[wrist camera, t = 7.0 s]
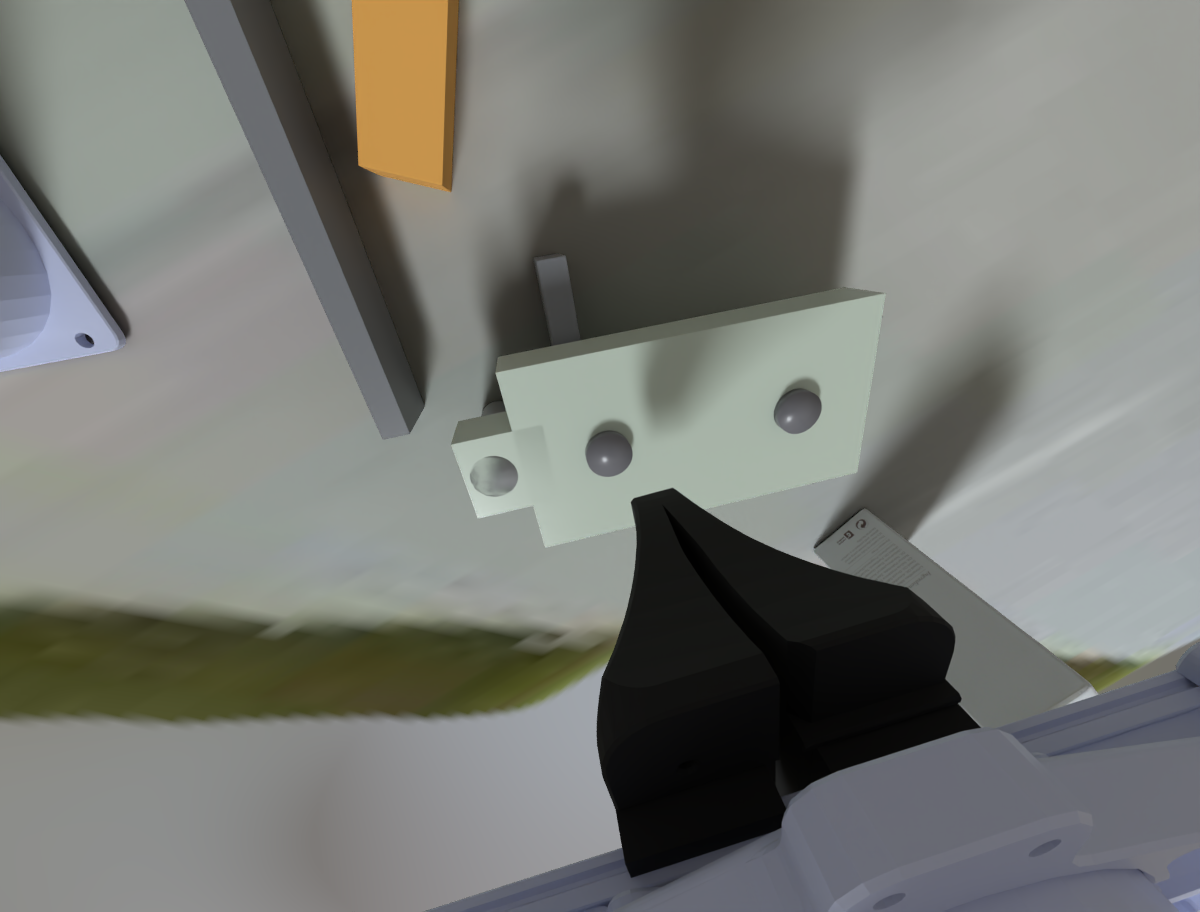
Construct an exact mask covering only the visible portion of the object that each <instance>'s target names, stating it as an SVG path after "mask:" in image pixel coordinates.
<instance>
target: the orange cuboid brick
mask: <svg viewBox="0 0 1200 912" xmlns="http://www.w3.org/2000/svg"><path fill="white" fill-rule="evenodd" d="M458 9H459V0H352V16H353V41H354V66H355V91H356V116H357V140H358V165H359V166H361V167H363V168H365V169H367V170H369V171H371V172H373V173H375V174H378V175H380V176H385V177H389V178H393V179H397V180H402V181H406V182H410V183H414V184H419V185H423V186H427V187H431V188H436V189H440V190H444V191H448V192H451V187H452V161H453V136H454V111H455V85H456V60H457V35H458Z"/></svg>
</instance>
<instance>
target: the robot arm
mask: <svg viewBox="0 0 1200 912" xmlns="http://www.w3.org/2000/svg"><path fill="white" fill-rule="evenodd" d="M85 334H87V335H89V336H90V337H91V338H92V339H93V341H94V345H93V344H91V343H90V342H88V341H87V340H86V337H85ZM125 344H126V338H125V336H124V334H123V332H122V331H121V329H120V328H119V326H118V325H117V323H116V322H115V321H114V319H113V318H112V316H111V315H110V313H109V312H108V310H107V309H106V307H105V306H104V305H103V303H102V302H101V300H100V299H99V297H98V296H97V294H96V293H95V292H94V290H93V289H92V287H91V286H90V284H89V283H88V281H87V280H86V278H85V277H84V276H83V274H82V273H81V271H80V270H79V268H78V267H77V265H76V264H75V263H74V261H73V260H72V258H71V257H70V255H69V254H68V252H67V251H66V249H65V248H64V247H63V245H62V244H61V242H60V241H59V239H58V238H57V236H56V235H55V234H54V232H53V231H52V229H51V228H50V226H49V225H48V223H47V222H46V220H45V219H44V218H43V216H42V215H41V213H40V212H39V210H38V209H37V207H36V206H35V205H34V203H33V202H32V200H31V199H30V197H29V196H28V194H27V193H26V191H25V190H24V189H23V187H22V186H21V184H20V183H19V181H18V180H17V178H16V177H15V175H14V174H13V173H12V171H11V170H10V168H9V167H8V165H7V164H6V162H5V161H4V160H3V158H2V157H1V155H0V372H3V371H8V370H14V369H19V368H24V367H30V366H35V365H40V364H46V363H51V362H57V361H62V360H67V359H73V358H78V357H84V356H89V355H94V354H100V353H105V352H111V351H114V350H118V349H120V348H123V347H124V345H125ZM631 506H632V511H633V516H634V521H635V526H636V531H637V548H636V562H635V571H634V578H633V584H632V589H631V594H630V598H629V603H628V607H627V611H626V615H625V618H624V621H623V624H622V627H621V630H620V634H619V637H618V640H617V643H616V645H615V648H614V651H613V653H612V655H611V658H610V660H609V662H608V665H607V667H606V669H605V672H604V674H603V676H602V681H601V688H600V695H599V704H598V714H597V747H598V753H599V759H600V764H601V769H602V775H603V779H604V781H605V784H606V786H607V789H608V791H609V794H610V796H611V799H612V801H613V804H614V806H615V809H616V814H617V820H618V826H619V832H620V837H621V843H622V848H620V849H617V850H614V851H611V852H608V853H605V854H602V855H599V856H595V857H592V858H589V859H586V860H583V861H579V862H577V863H573V864H570V865H567V866H564V867H561V868H558V869H555V870H551V871H548V872H545V873H542V874H539V875H536V876H533V877H530V878H527V879H524V880H521V881H517V882H514V883H511V884H508V885H505V886H502V887H499V888H496V889H493V890H489V891H486V892H483V893H480V894H477V895H474V896H471V897H467V898H464V899H461V900H458V901H455V902H452V903H449V904H446V905H443V906H439V907H436V908H433V909H430V910H427V911H424V912H1200V642H1198V643H1196V644H1195V645H1193V646H1192V647H1190V648H1189V649H1188V650H1187V651H1186V652H1185V653H1184V654H1183V655H1182V657H1181V658H1180V659H1179V661H1178V663H1177V665H1176V670H1174V671H1171V672H1168V673H1165V674H1161V675H1158V676H1155V677H1152V678H1149V679H1146V680H1143V681H1140V682H1137V683H1134V684H1130V685H1128V686H1124V687H1121V688H1118V689H1115V690H1112V691H1109V692H1105V693H1102V694H1100V695H1096V696H1093V697H1090V698H1087V699H1084V700H1081V701H1077V702H1074V703H1071V704H1068V705H1065V706H1062V707H1059V708H1056V709H1053V710H1049V711H1046V712H1043V713H1040V714H1037V715H1034V716H1031V717H1028V718H1025V719H1021V720H1018V721H1015V722H1012V723H1009V724H1006V725H1003V726H1000V727H997V728H990V727H983V728H981V727H980V726H979V725H978V724H977V723H976V722H975V721H974V720H973V719H972V718H971V717H970V715H969V714H968V713H967V712H966V711H965V710H964V709H963V708H962V707H961V706H960V705H959V704H958V703H960V702H961V700H962V698H961V696H960V693H959V692H958V691H957V690H956V689H955V688H954V687H953V686H952V685H951V684H950V683H949V682H948V681H947V680H946V679H945V678H946V675H947V672H948V668H949V665H950V662H951V659H952V656H953V653H954V647H955V637H956V636H955V633H954V630H953V627H952V626H951V625H950V624H949V623H948V622H947V621H946V620H945V619H943V618H942V617H941V616H940V615H939V614H938V613H937V612H936V611H935V610H934V609H933V608H932V607H931V606H929V605H928V604H927V603H926V602H925V601H924V600H923V599H921V598H920V597H919V596H918V595H916V594H915V593H914V592H912V591H911V590H910V589H909V588H907V587H903V586H899V585H894V584H889V583H885V582H880V581H876V580H871V579H866V578H862V577H858V576H854V575H850V574H847V573H843V572H839V571H836V570H832V569H829V568H826V567H823V566H819V565H816V564H813V563H810V562H808V561H805V560H802V559H799V558H797V557H794V556H791V555H788V554H786V553H783V552H781V551H779V550H776V549H774V548H772V547H770V546H767V545H765V544H763V543H761V542H759V541H756V540H754V539H752V538H750V537H748V536H746V535H745V534H743V533H741V532H739V531H737V530H736V529H734V528H732V527H730V526H729V525H727V524H725V523H724V522H722V521H721V520H719V519H717V518H716V517H714V516H713V515H711V514H710V513H708V512H707V511H705V510H704V509H702V508H701V507H699V506H698V505H696V504H695V503H694V502H692V501H691V500H689V499H688V498H687V497H685V496H684V495H683V494H681V493H680V492H679V491H677V490H676V489H674V488H669V489H665V490H662V491H658V492H654V493H651V494H647V495H643V496H640V497H636V498H633V500H632V501H631Z"/></svg>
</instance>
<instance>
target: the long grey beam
mask: <svg viewBox="0 0 1200 912" xmlns="http://www.w3.org/2000/svg"><path fill="white" fill-rule="evenodd" d="M184 1H185V3H186V5H187V7H188V9H189V12H190V14H191V16H192V18H193V21H194V23H195V25H196V27H197V29H198V32H199V34H200V36H201V38H202V40H203V43H204V45H205V47H206V49H207V52H208V54H209V56H210V58H211V60H212V63H213V65H214V67H215V69H216V71H217V74H218V76H219V78H220V80H221V83H222V85H223V87H224V89H225V91H226V94H227V96H228V98H229V100H230V102H231V105H232V107H233V109H234V111H235V114H236V116H237V118H238V120H239V122H240V125H241V127H242V129H243V131H244V133H245V136H246V138H247V140H248V142H249V145H250V147H251V149H252V151H253V153H254V156H255V158H256V160H257V162H258V164H259V167H260V169H261V171H262V173H263V176H264V178H265V180H266V182H267V184H268V187H269V189H270V191H271V193H272V195H273V198H274V200H275V202H276V204H277V206H278V209H279V211H280V213H281V215H282V218H283V220H284V222H285V224H286V226H287V229H288V231H289V233H290V235H291V237H292V240H293V242H294V244H295V246H296V249H297V251H298V253H299V255H300V257H301V260H302V262H303V264H304V266H305V268H306V271H307V273H308V275H309V277H310V280H311V282H312V284H313V286H314V288H315V291H316V293H317V295H318V297H319V299H320V302H321V304H322V306H323V308H324V311H325V313H326V315H327V317H328V319H329V322H330V324H331V326H332V328H333V330H334V333H335V335H336V337H337V339H338V342H339V344H340V346H341V348H342V350H343V353H344V355H345V357H346V359H347V361H348V364H349V366H350V368H351V370H352V372H353V375H354V377H355V379H356V381H357V384H358V386H359V388H360V390H361V392H362V395H363V397H364V399H365V401H366V403H367V406H368V408H369V410H370V412H371V415H372V417H373V419H374V421H375V423H376V426H377V428H378V430H379V432H380V434H381V437H382V439H388V438H393V437H397V436H402V435H407V434H410V432H411V431H412V429H413V427H414V425H415V423H416V421H417V420H418V418H419V416H420V414H421V412H422V411H423V409H424V407H425V406H424V403H423V400H422V398H421V395H420V393H419V390H418V387H417V385H416V382H415V380H414V377H413V374H412V372H411V369H410V366H409V364H408V361H407V359H406V356H405V353H404V351H403V348H402V345H401V343H400V340H399V338H398V335H397V332H396V330H395V327H394V325H393V322H392V319H391V317H390V314H389V311H388V309H387V306H386V304H385V301H384V298H383V296H382V293H381V291H380V288H379V285H378V283H377V280H376V277H375V275H374V272H373V270H372V267H371V264H370V262H369V259H368V257H367V254H366V251H365V249H364V246H363V243H362V241H361V238H360V236H359V233H358V230H357V228H356V225H355V222H354V220H353V217H352V215H351V212H350V209H349V207H348V204H347V202H346V199H345V196H344V194H343V191H342V188H341V186H340V183H339V181H338V178H337V175H336V173H335V170H334V168H333V165H332V162H331V160H330V157H329V154H328V152H327V149H326V147H325V144H324V141H323V139H322V136H321V134H320V131H319V128H318V126H317V123H316V120H315V118H314V115H313V113H312V110H311V107H310V105H309V102H308V99H307V97H306V94H305V92H304V89H303V86H302V84H301V81H300V79H299V76H298V73H297V71H296V68H295V65H294V63H293V60H292V58H291V55H290V52H289V50H288V47H287V45H286V42H285V39H284V37H283V34H282V31H281V29H280V26H279V24H278V21H277V18H276V16H275V13H274V11H273V8H272V5H271V3H270V0H184ZM533 260H534V265H535V270H536V274H537V279H538V284H539V289H540V293H541V298H542V303H543V307H544V312H545V317H546V322H547V326H548V331H549V336H550V341H551V345H552V346H555V345H560V344H565V343H570V342H575V341H580V340H581V339H580V334H579V328H578V322H577V317H576V311H575V305H574V300H573V294H572V288H571V283H570V277H569V271H568V266H567V260H566V256H565V255H562V254H558V253H557V254H552V255H546V256H541V257H535V258H533Z"/></svg>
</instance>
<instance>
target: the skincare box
mask: <svg viewBox="0 0 1200 912" xmlns="http://www.w3.org/2000/svg"><path fill="white" fill-rule="evenodd" d="M814 553H815V554H816V555H817V556H818V557H819V558H820V559H821V560H822V561H823V562H824V563H825V565H826V566H827V567H828V568H829V569H832V570H836V571H839V572H843V573H847V574H850V575H854V576H858V577H862V578H866V579H871V580H876V581H880V582H885V583H889V584H894V585H899V586H903V587H907V588H909V589H910V590H911V591H912V592H914V593H915V594H916V595H918V596H919V597H920V598H921V599H923V600H924V601H925V602H926V603H927V604H928V605H929V606H931V607H932V608H933V609H934V610H935V611H936V612H937V613H938V614H939V615H940V616H941V617H942V618H943V619H945V620H946V621H947V622H948V623H949V624H950V625H951V626H952V627H953V630H954V633H955V636H956V637H955V647H954V653H953V656H952V659H951V662H950V665H949V668H948V672H947V675H946V678H945V679H946V680H947V681H948V682H949V683H950V684H951V685H952V686H953V687H954V688H955V689H956V690H957V691H958V692H959V693H960V696H961V698H962V700H961V702H960V703H958V704H959V705H960V706H961V707H962V708H963V709H964V710H965V711H966V712H967V713H968V714H969V715H970V717H971V718H972V719H973V720H974V721H975V722H976V723H977V724H978V725H979V726H980V727H981V728H983V727H990V728H997V727H1000V726H1003V725H1006V724H1009V723H1012V722H1015V721H1018V720H1021V719H1025V718H1028V717H1031V716H1034V715H1037V714H1040V713H1043V712H1046V711H1049V710H1053V709H1056V708H1059V707H1062V706H1065V705H1068V704H1071V703H1074V702H1077V701H1081V700H1084V699H1087V698H1090V697H1093V696H1096V695H1099V694H1098V693H1097V692H1096V690H1095V689H1094V688H1093V686H1092V685H1091V684H1090V683H1089V682H1088V681H1087V680H1085V679H1084V678H1083V677H1082V676H1080V675H1079V674H1078V673H1077V672H1075V671H1074V670H1073V669H1072V668H1070V667H1069V666H1068V665H1067V664H1065V663H1064V662H1063V661H1062V660H1060V659H1059V658H1058V657H1056V656H1055V655H1054V654H1053V653H1051V652H1050V651H1049V650H1048V649H1047V648H1045V647H1044V646H1043V645H1041V644H1040V643H1039V642H1037V641H1036V640H1035V639H1033V638H1032V637H1031V636H1029V635H1028V634H1027V633H1025V632H1024V631H1023V630H1021V629H1020V628H1019V627H1018V626H1016V625H1015V624H1014V623H1012V622H1011V621H1010V620H1009V619H1007V618H1006V617H1005V616H1003V615H1002V614H1001V613H1000V612H998V611H997V610H996V609H995V608H993V607H992V606H991V605H989V604H988V603H987V602H985V601H984V600H983V599H982V598H980V597H979V596H978V595H977V594H975V593H974V592H973V591H971V590H970V589H969V588H967V587H966V586H965V585H964V584H962V583H961V582H960V581H958V580H957V579H956V578H955V577H953V576H952V575H951V574H949V573H948V572H947V571H945V570H944V569H943V568H942V567H940V566H939V565H938V564H937V563H935V562H934V561H933V560H931V559H930V558H929V557H928V556H926V555H925V554H924V553H923V552H921V551H920V550H919V549H918V548H916V547H915V546H914V545H912V544H911V543H910V542H908V541H907V540H906V539H905V538H903V537H902V536H901V535H900V534H898V533H897V532H896V531H894V530H893V529H892V528H891V527H889V526H888V525H887V524H885V523H884V522H883V521H881V520H880V519H879V518H878V517H876V516H875V515H874V514H873V513H871V512H870V511H869V510H867V509H863V510H861V511H860V512H859V513H857V514H856V515H855V516H854V517H852V518H851V519H850V520H849V521H848V522H847V523H845V524H844V525H843V526H842V527H841V528H839V529H838V530H837V531H836V532H835V533H834V534H832V535H831V536H830V537H829V538H827V539H826V540H825V541H824V542H823V543H821V544H820V545H819V546H818V547H817V548H816V549H815V550H814Z"/></svg>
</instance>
